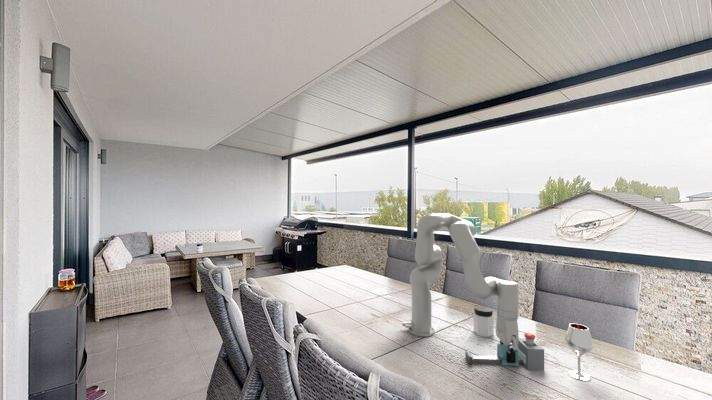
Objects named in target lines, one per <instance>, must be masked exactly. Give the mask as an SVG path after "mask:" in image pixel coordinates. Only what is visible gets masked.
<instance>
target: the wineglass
mask: <svg viewBox="0 0 712 400" xmlns="http://www.w3.org/2000/svg"><path fill="white" fill-rule="evenodd" d="M564 341H565V343H566V345H567V346H568V347H569V349H571V350H572V352H574V354H576V356H577V370H574V369H573V370H572V369H571V370H569V371H568V375H569V376H571V378H573V379H576V380H579V381H582V382H583V381H584V382H588V381H590V380H591V377H590V375H588V374H587V373H585V372H583V371H581V358H582V356H583V355H586V354H588V353H590V352H591V351H592V350H593V348H594V342H593V339H592V334H591V332H590V329H589V327H588V326H586V325H583V324H580V323H569V324H568V327H567V330H566V333H565V340H564Z"/></svg>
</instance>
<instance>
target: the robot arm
mask: <svg viewBox="0 0 712 400" xmlns="http://www.w3.org/2000/svg"><path fill="white" fill-rule="evenodd" d="M416 229H417V230H416V241H415V252H414V260H415V263H417V264H418V265H420V267H419V266H418V267H415V268H414V269H413V270H411V272H410V274H409V283H410V288H411V319H410V321H408V322H407V321H402V322H401V324H402V325H401V326H402V327H405V328H406V329H407V328H408V331H409V333H410V334H411V335H414V336H417V337H421V338H423V337H425V338H426V337H427V338H428V337H432V336H433V335H434V334H435V328H434V327H432V292H431V289H430V285H434V284H436V283H437V282H438V281H439V280H440V279H441V274H442V266H443V265H442V264H443V252H442V249H441V248H440V247H439V246H438V245H437V244H435V234H434V232H438V231H439V232H441V231H447V232H448V233H449V236H450V237H451V240H452V242H453V244H454V245H455V248H456V249H457V252H458V254H459V256H460V257H461V259H462V269H463V270H462V271H463V275H464V277H465V281H466V283H467V285H468V287H469V288H470V291H471V292H472V293H473V295H474V296H475V297H476V298H479V300H480V299H481V300H486V299H489V298H491V297H493V296H496V324H495V336H496V337H497V338H498V340H499V344H505V345H506V346H507V351H508V352H507V363H516V351H517V350H518V346H517V345H518V342H519V338H520V336H519V325H518V320H519V286H518V284H517V282H515V281H512V280H505V279H501V278H497V277H494V276H485V277H484V275H483V273H482V270H481V268H480V259H481V253H482V251H481V249H480V247H479V245H478V244H477V241H476V239H475V238H474V236H475V235H476V231H477V229H476V226H475V225H474V224H473V223H472V222H471V221H469V220H467V219H464V218H461V217H459V216H456V215H454V214H451V213H448V212H442V213H441V212H433V213H429V214H428V213H427V214H425V215H423V216H422V217H421V218H420V219H419V220H418V222H417V227H416ZM510 346H513V347H512V348H511V349H510Z"/></svg>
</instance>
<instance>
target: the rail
mask: <svg viewBox="0 0 712 400" xmlns="http://www.w3.org/2000/svg"><path fill="white" fill-rule="evenodd" d="M464 352H465V353H464V354H465V360H466V362H467V364H468V365H469V366H473V365H495V366H496V365H498V366H499V365H500V366H501V365H502V359H501V358H500V357H499V356H497V355H476V354H475V355H474V354H471V352H470V351H469V350H465V351H464ZM502 366H503V365H502ZM519 366H524V362H523V360H522V359H521V358H520V357H519Z"/></svg>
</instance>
